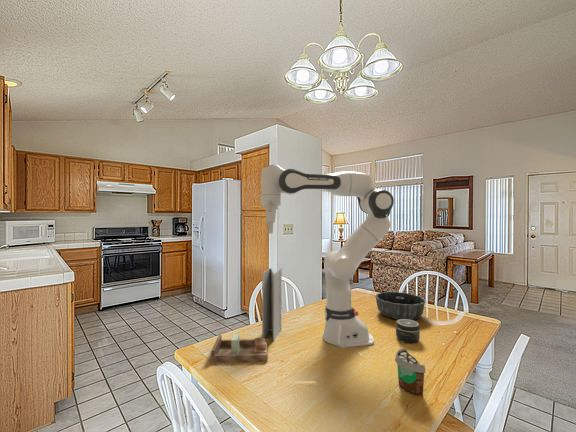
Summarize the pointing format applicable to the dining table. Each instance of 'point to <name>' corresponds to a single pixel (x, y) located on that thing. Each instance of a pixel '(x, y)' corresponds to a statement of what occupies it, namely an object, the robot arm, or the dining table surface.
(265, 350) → the offcut
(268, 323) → the brochure
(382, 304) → the bundt pan
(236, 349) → the pale green brick
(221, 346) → the tray
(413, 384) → the food container
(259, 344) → the offcut
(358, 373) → the dining table surface
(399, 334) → the jar
